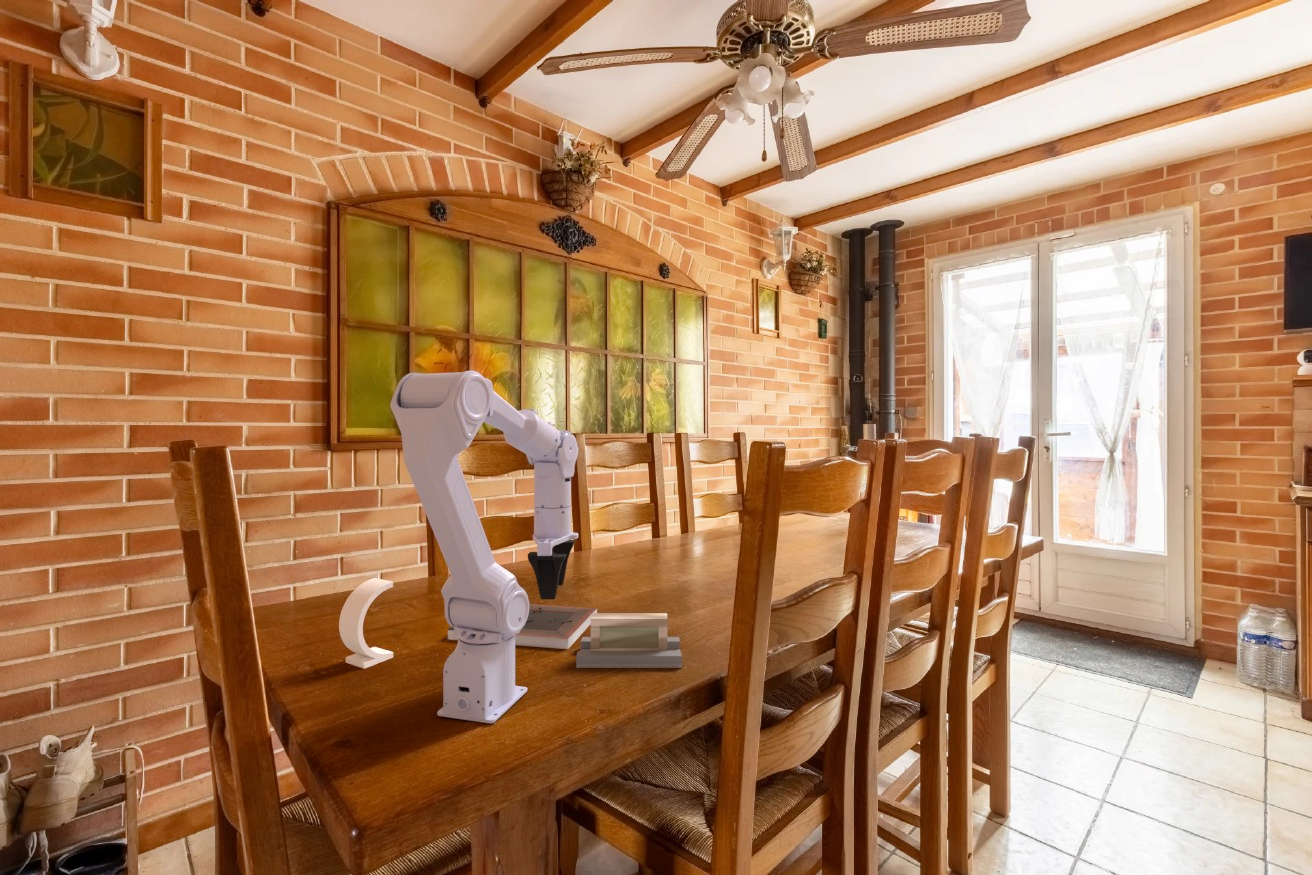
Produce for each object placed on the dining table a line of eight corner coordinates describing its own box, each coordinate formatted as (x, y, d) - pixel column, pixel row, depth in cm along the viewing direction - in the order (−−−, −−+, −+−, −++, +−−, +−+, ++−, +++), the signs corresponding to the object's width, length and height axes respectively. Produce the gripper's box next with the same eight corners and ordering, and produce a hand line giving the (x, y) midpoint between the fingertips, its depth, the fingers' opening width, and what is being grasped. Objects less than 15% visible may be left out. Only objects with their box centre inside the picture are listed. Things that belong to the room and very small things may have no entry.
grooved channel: (681, 667, 89) (681, 656, 89) (576, 667, 88) (576, 655, 88) (679, 647, 97) (679, 636, 97) (582, 647, 96) (582, 636, 96)
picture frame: (447, 642, 100) (567, 652, 96) (447, 628, 100) (567, 637, 96) (492, 612, 116) (596, 620, 112) (492, 600, 116) (596, 607, 112)
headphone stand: (393, 657, 92) (393, 581, 92) (357, 671, 87) (357, 591, 87) (375, 651, 94) (374, 577, 94) (339, 664, 89) (338, 586, 89)
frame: (667, 656, 91) (667, 618, 91) (590, 656, 91) (590, 618, 91) (666, 650, 94) (667, 613, 94) (592, 650, 94) (592, 613, 94)
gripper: (571, 512, 85) (571, 605, 85) (583, 500, 99) (583, 579, 100) (523, 512, 85) (523, 605, 85) (541, 500, 99) (541, 579, 100)
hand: (552, 591), depth 92 cm, fingers open, 7 cm apart
